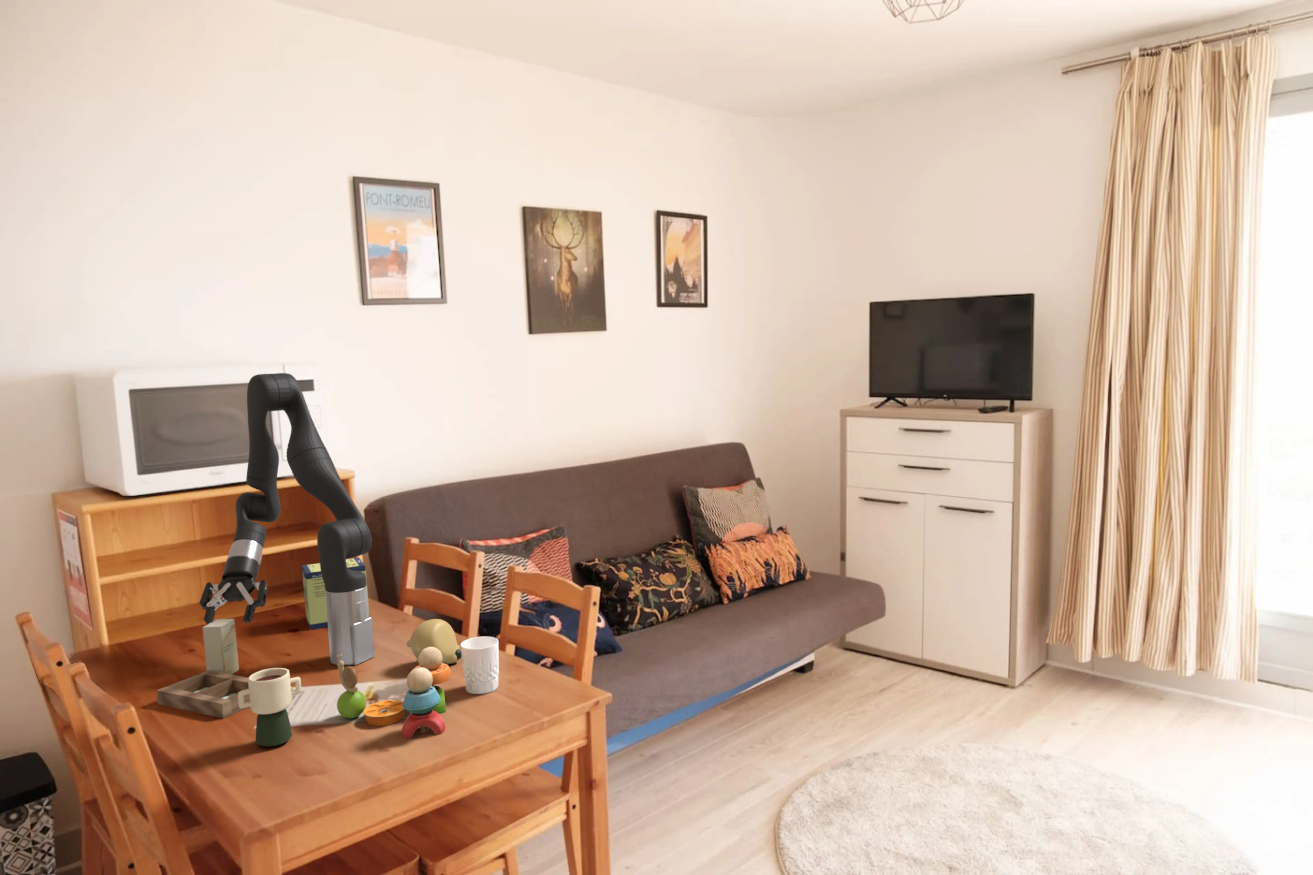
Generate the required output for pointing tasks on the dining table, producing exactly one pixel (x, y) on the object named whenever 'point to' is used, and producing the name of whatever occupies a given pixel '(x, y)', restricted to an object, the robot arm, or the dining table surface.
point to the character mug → (270, 704)
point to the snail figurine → (349, 692)
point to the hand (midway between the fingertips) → (227, 622)
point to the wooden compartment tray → (206, 694)
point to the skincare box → (221, 646)
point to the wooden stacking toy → (417, 698)
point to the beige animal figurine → (435, 640)
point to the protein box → (321, 592)
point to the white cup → (480, 664)
